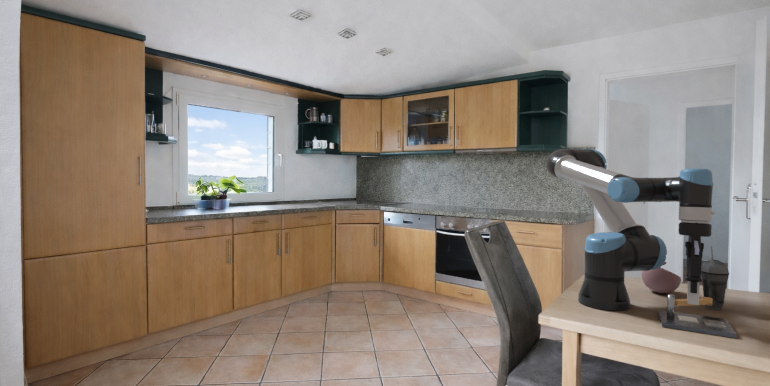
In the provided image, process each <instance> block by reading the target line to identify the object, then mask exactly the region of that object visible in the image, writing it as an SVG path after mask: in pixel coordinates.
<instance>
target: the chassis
mask: <svg viewBox="0 0 770 386" xmlns="http://www.w3.org/2000/svg"><path fill="white" fill-rule="evenodd" d="M666 294H667V295H666V296H667V300H666V303H667V305H666V308H667V309H666V310H665V309H663V310H662V309H657V311H658V316H659V321H660V324H661V327H662V328H667V329H674V330H680V331H681V330H682V331H687V332H691V333H692V332H693V333H699V334H706V335H712V336H713V335H714V336H717V337H718V336H719V337H725V338H731V339H737V335H738V334H737V332H736V331H735V329H733V327H732V326H731V324H730V323H729V322H728V320H727V319H726V318H723V317H722V318H721V317H716V316H715V317H714V316H706V315H700V314H692V313H686V312H678V311H675V310H676V309H675V307H676V305H675V299H676V294H673V293H672V294H671V293H666Z"/></svg>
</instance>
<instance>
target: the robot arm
mask: <svg viewBox="0 0 770 386" xmlns="http://www.w3.org/2000/svg"><path fill="white" fill-rule="evenodd" d="M545 163H546V164H545V165H546V167H545V168H546V170H547V172H548V174H550V175H551V176H552V177H554V178H557V179H560V180H564V181H565V180H569V181H572V182H575V184H576V186H578V187H579V188H583V189H584V191H585V193H586V195H587V196H588V198H589V200H590V201H591V202H592V204H593V206H594V208H595V209H596V211H597V213H598V214H599V216H600V217H601V219H602V221H603V222H604V224H605V226H606V227H607V229H608V231H609V232H603V231H602V232H595V233H591V234H589V235H587V236H586V238H585V245H584V279H583V281H582V284H581V287H580V290H579V291H578V297H577V298H578V302H579V303H580V304H582V305H584V306H587V307H589V308H594V309H599V310H604V311H605V310H606V311H626V310H629V309H630V308H631V298H630V296H629V294H628V290H627V287H626V284H625V273H626V272H642V271H649V270H654V269H657V268H659V267H660V268H662V266H664V265H663V264H664V262H666V260H667V254H668V250H667V245H666V244H665V242H664V239H662V238H661V237H659V236H657V235H655V234H654V235H653V234H650V233H649V232H648V231H647V229H646V227H645V226H644V225H642V224H638V223H637V222H636V221H635V220H634V218H633V217H632V215H631V214H630V212H629V211H628V209H627V207H626V206H625V205H624V204H625V203H640V202H641V203H652V202H653V203H654V202H655V203H663V202H664V203H666V202H667V203H669V202H672V203H673V202H678V220H679V221H680V222H679V223H678V234H679V235H680V236H688V238H687V241H685V242H684V244H685V245H684V247H685V256H686V278H684V280H685V281H686V282H687V284H686V299H687V304H694V305H693V306H700V305H699V298H700V285H701V283H700V282H702V283H703V281H702V276H701V267H702V265H703V264H702V263H703V262H702V261H703V254H704V249H705V243H703V242H702V238H701V237H706V238H707V237H708V238H710V237H712V224H711V223H710V222H712V215H715V211H712V210H713V209H712V205H713V204H712V200H713V188H714V187H713V186H714V181H713V173H712V170H710V169H707V168H684V169H681V170H680V172H679V176H676V177H634V176H633V177H632V176H630V175H626V174H623V173H619V172H616V171H614V170H610V169H607V166H608V165H607V159H606V157H605V155H603V153H602V152H600V151H599V150H596V149H590V148H584V149H582V148H581V149H579V148H578V149H577V148H575V149H574V148H560V149H557V150H555V151H553V152H552V153H550V154H549V156H548V157H547V160H546V162H545Z"/></svg>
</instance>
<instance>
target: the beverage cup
mask: <svg viewBox="0 0 770 386" xmlns="http://www.w3.org/2000/svg"><path fill="white" fill-rule="evenodd" d="M709 249H710V257H711V259H709V260H706V261H704V263H703V264H702V265H701V280H702V293H703V297H709V298H712V299H713V300H712V305H704V308H706V309H709V310H714V311H722V310H723V308H724V303H725V297H726V291H727V290H726V289H727V284H728V283H727V282H728V279H729V276H730V271H729V268H728V267H727V265H726V264H725V263H724V262H723V261H721V260H717V259H714V253H713V246H712V245H710V246H709Z"/></svg>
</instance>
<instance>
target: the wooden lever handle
mask: <svg viewBox="0 0 770 386" xmlns="http://www.w3.org/2000/svg"><path fill="white" fill-rule="evenodd" d="M712 300H713V299H712V298H709V297H704V296H702V297H699V305H698V306H703V305H704V306H705V305H712ZM676 306H677V307H683V306H695V305H694V304H687V298H675V307H676Z"/></svg>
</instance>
